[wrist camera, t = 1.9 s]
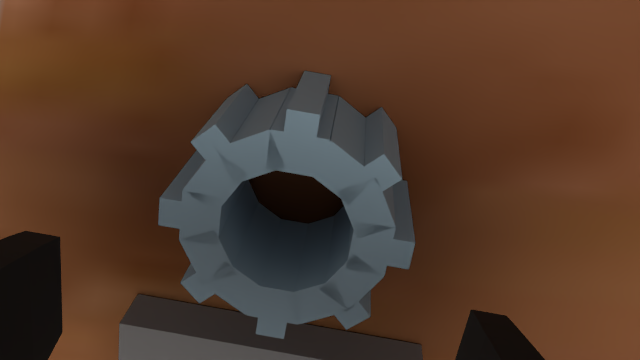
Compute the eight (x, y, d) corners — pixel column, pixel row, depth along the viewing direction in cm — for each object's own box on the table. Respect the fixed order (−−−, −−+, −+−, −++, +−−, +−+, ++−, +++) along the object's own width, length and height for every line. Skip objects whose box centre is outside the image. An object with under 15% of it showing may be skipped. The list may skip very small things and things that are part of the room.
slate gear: (427, 92, 15) (442, 136, 12) (383, 279, 18) (386, 357, 15) (207, 53, 16) (165, 87, 12) (192, 245, 18) (153, 315, 15)
